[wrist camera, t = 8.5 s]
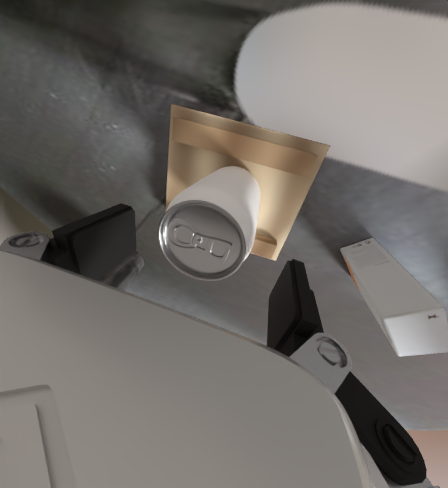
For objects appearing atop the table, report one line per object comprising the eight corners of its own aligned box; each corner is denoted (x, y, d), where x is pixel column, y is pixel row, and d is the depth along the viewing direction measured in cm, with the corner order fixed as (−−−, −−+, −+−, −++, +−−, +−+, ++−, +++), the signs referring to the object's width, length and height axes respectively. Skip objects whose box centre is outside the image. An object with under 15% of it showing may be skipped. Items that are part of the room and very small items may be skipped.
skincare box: (338, 248, 26) (382, 317, 16) (372, 236, 24) (448, 306, 14) (351, 278, 28) (397, 358, 18) (384, 270, 26) (457, 352, 16)
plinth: (320, 144, 21) (335, 145, 16) (274, 245, 28) (275, 267, 23) (186, 109, 22) (163, 101, 17) (176, 216, 29) (159, 230, 24)
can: (214, 156, 20) (156, 174, 10) (270, 177, 20) (272, 218, 9) (200, 209, 23) (147, 265, 13) (248, 228, 23) (232, 298, 13)
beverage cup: (110, 245, 35) (-38, 343, 18) (141, 241, 33) (7, 349, 16) (127, 274, 38) (15, 382, 22) (156, 273, 36) (58, 391, 19)
